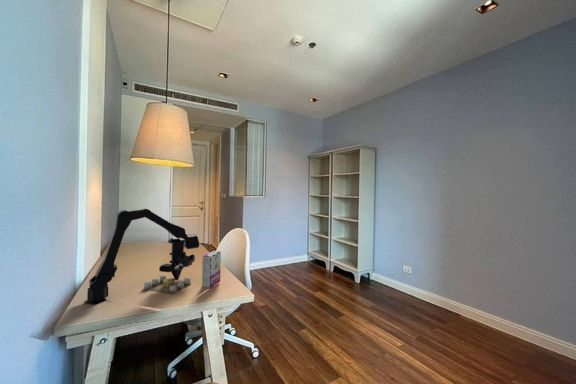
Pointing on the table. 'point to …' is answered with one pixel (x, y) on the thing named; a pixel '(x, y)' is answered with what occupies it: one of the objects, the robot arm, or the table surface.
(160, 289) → the board
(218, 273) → the candy bar box
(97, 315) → the table surface
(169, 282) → the hexagonal box
